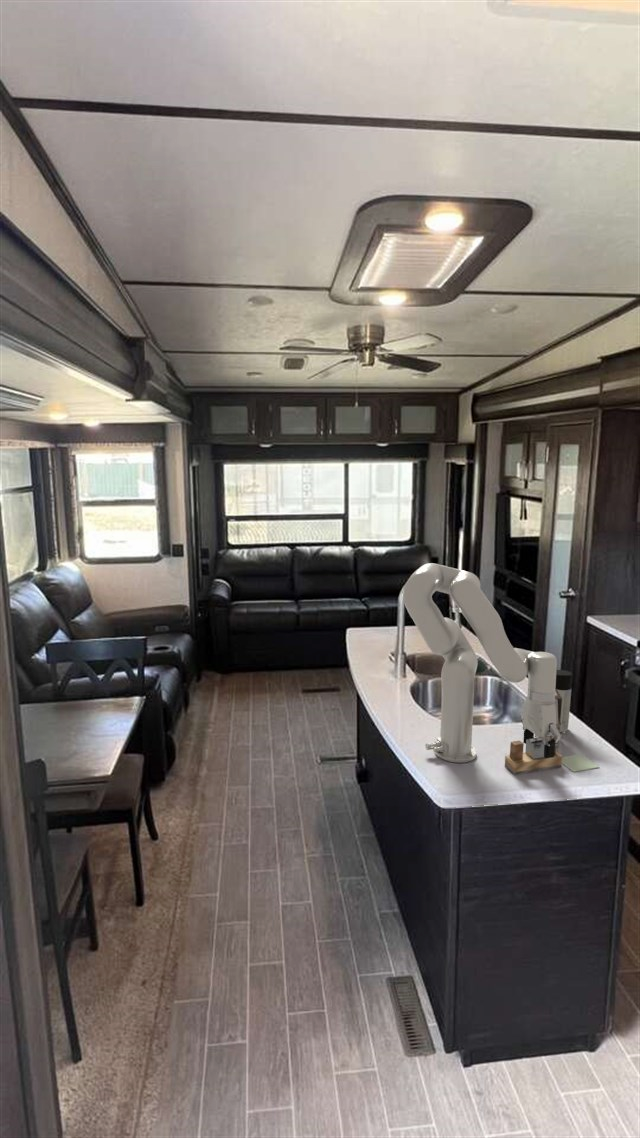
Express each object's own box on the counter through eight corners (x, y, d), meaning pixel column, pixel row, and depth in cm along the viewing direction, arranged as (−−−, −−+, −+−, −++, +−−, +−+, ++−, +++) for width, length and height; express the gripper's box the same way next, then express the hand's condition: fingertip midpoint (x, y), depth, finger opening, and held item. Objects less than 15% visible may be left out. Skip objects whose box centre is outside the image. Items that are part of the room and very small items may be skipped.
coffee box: (559, 747, 192) (562, 699, 189) (537, 745, 193) (541, 697, 190) (554, 734, 201) (557, 688, 198) (533, 733, 202) (536, 687, 199)
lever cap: (533, 759, 177) (534, 742, 176) (525, 753, 180) (526, 736, 180) (548, 757, 178) (549, 739, 177) (539, 751, 182) (540, 734, 181)
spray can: (544, 724, 209) (548, 668, 205) (564, 724, 208) (568, 669, 205) (550, 733, 202) (554, 675, 199) (571, 733, 202) (575, 676, 198)
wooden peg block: (514, 774, 175) (516, 747, 174) (504, 766, 180) (506, 739, 178) (561, 767, 180) (563, 740, 178) (550, 759, 184) (552, 733, 183)
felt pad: (573, 772, 177) (573, 771, 177) (555, 759, 184) (555, 758, 184) (599, 767, 179) (599, 766, 179) (580, 755, 187) (580, 754, 187)
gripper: (512, 686, 183) (510, 739, 186) (549, 707, 167) (546, 765, 170) (533, 683, 185) (531, 735, 188) (572, 704, 169) (568, 761, 172)
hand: (538, 749), depth 179 cm, fingers open, 9 cm apart
